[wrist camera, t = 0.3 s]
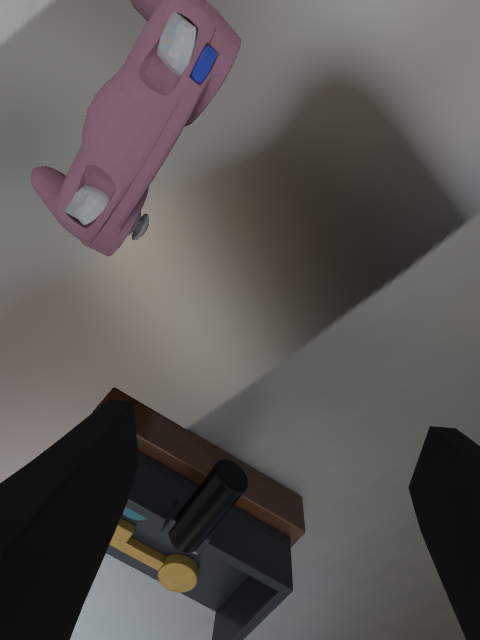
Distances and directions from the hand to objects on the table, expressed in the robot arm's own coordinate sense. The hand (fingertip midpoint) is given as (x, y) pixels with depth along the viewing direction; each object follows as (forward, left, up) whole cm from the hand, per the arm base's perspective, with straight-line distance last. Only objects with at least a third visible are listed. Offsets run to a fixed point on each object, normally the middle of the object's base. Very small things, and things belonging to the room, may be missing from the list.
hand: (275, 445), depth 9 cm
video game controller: (+4, +10, -11) cm, 15 cm away
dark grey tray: (-10, -1, -8) cm, 13 cm away
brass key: (-14, -2, -7) cm, 16 cm away
